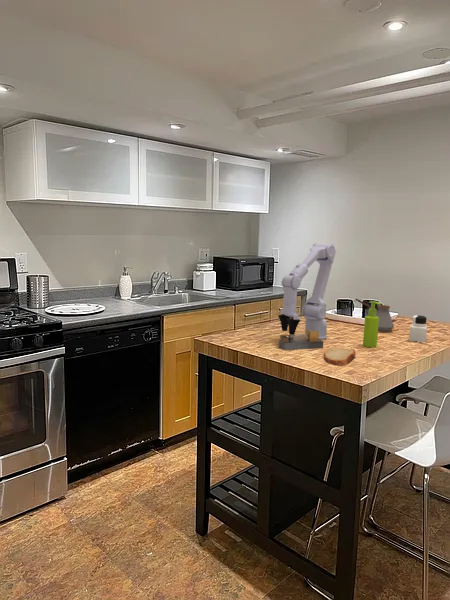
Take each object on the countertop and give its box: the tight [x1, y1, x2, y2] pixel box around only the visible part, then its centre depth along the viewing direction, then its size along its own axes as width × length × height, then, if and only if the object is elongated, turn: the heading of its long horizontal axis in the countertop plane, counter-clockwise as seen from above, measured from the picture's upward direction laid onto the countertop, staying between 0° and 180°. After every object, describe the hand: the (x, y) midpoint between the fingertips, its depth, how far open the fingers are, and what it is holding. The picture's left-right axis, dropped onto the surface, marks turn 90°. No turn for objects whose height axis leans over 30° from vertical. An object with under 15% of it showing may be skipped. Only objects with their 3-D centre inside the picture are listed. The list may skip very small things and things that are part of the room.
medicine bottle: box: [408, 314, 428, 343], centre depth 220 cm, size 7×7×12 cm
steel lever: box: [287, 333, 308, 341], centre depth 200 cm, size 9×2×2 cm, turn 107°
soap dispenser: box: [362, 300, 382, 348], centre depth 206 cm, size 6×7×20 cm
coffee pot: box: [354, 298, 395, 333], centre depth 243 cm, size 21×12×15 cm, turn 53°
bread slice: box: [323, 346, 356, 367], centre depth 186 cm, size 18×18×4 cm
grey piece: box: [278, 334, 324, 351], centre depth 201 cm, size 18×6×5 cm, turn 107°
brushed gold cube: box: [306, 330, 319, 341], centre depth 202 cm, size 4×4×4 cm
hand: (288, 332), depth 209 cm, fingers open, 7 cm apart
